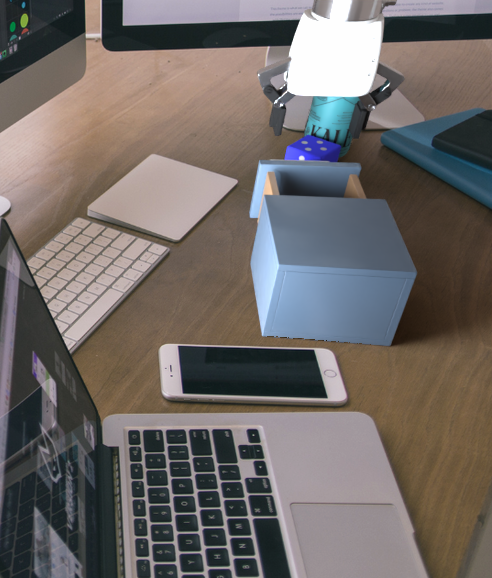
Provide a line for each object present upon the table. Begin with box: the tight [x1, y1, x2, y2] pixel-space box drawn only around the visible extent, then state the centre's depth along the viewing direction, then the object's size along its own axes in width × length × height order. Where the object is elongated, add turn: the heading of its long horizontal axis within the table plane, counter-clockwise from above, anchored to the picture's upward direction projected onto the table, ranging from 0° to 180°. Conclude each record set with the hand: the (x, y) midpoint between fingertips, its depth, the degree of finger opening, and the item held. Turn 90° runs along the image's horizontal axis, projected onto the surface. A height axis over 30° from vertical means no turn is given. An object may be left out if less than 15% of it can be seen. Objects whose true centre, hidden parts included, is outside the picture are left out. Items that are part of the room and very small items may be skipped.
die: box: [284, 135, 341, 162], centre depth 106 cm, size 5×5×5 cm
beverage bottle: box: [301, 96, 360, 159], centre depth 106 cm, size 6×7×20 cm
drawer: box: [248, 158, 368, 224], centre depth 94 cm, size 17×11×8 cm, turn 168°
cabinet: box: [249, 195, 418, 347], centre depth 84 cm, size 14×13×10 cm
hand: (314, 132), depth 104 cm, fingers open, 9 cm apart
